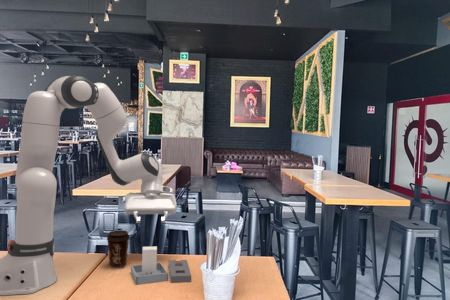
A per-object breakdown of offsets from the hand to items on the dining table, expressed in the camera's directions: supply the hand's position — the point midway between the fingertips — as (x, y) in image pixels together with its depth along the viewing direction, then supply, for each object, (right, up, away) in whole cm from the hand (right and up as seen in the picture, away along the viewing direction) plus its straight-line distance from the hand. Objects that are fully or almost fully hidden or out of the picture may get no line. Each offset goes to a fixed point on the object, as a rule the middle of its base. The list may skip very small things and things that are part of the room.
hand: (150, 222), depth 136 cm
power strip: (+12, -18, -6) cm, 22 cm away
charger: (+1, -17, -10) cm, 20 cm away
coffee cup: (-13, -17, 0) cm, 21 cm away
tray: (+1, -18, -10) cm, 20 cm away
